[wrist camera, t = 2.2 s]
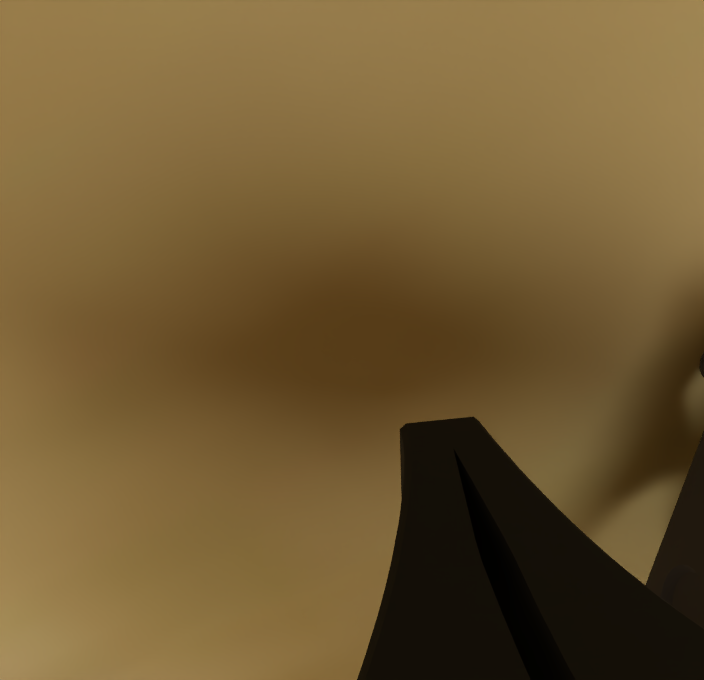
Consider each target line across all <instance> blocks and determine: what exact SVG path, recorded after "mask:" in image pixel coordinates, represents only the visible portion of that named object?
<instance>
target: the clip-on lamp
mask: <svg viewBox="0 0 704 680" xmlns="http://www.w3.org/2000/svg"><path fill="white" fill-rule="evenodd" d="M700 371H701V375H702V376H703V377H704V353H703V355H702V357H701V360H700ZM645 586H646V587H648V588H649V589H650V590H651V591H653V592H654V593H655V594H657V595H658V596H659V597H661V598H662V599H663V600H665V601H666V602H667V603H669V604H670V605H671V606H673V607H674V608H675V609H676V610H678V611H679V612H680V613H682V614H683V615H685V616H686V617H688V618H689V619H691V620H692V621H693V622H695V623H696V624H698V625H699V626H701V627H702V628H704V432H703V435H702V437H701V440H700V443H699V445H698V448H697V450H696V453H695V456H694V458H693V461H692V464H691V466H690V469H689V472H688V474H687V477H686V480H685V482H684V485H683V487H682V490H681V493H680V495H679V498H678V501H677V503H676V506H675V509H674V511H673V514H672V517H671V519H670V522H669V524H668V527H667V530H666V532H665V535H664V538H663V540H662V543H661V546H660V548H659V551H658V554H657V556H656V559H655V561H654V564H653V567H652V569H651V572H650V575H649V577H648V580H647V583H646V585H645Z"/></svg>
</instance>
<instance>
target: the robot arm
mask: <svg viewBox="0 0 704 680" xmlns="http://www.w3.org/2000/svg"><path fill="white" fill-rule="evenodd" d="M400 454H401V491H402V502H401V511H400V518H399V525H398V530H397V535H396V540H395V546H394V551H393V556H392V561H391V566H390V570H389V574H388V579H387V583H386V587H385V591H384V594H383V598H382V602H381V606H380V609H379V613H378V616H377V620H376V623H375V626H374V629H373V633H372V636H371V639H370V642H369V646H368V649H367V652H366V655H365V658H364V661H363V664H362V667H361V670H360V673H359V676H358V679H357V680H704V628H702V627H701V626H699V625H698V624H696V623H695V622H693V621H692V620H691V619H689V618H688V617H686V616H685V615H683V614H682V613H680V612H679V611H678V610H676V609H675V608H674V607H673V606H671V605H670V604H669V603H667V602H666V601H665V600H663V599H662V598H661V597H659V596H658V595H657V594H655V593H654V592H653V591H651V590H650V589H649V588H648V587H646V586H645V585H644V584H643V583H641V582H640V581H639V580H638V579H636V578H635V577H634V576H633V575H632V574H630V573H629V572H628V571H627V570H625V569H624V568H623V567H622V566H620V565H619V564H618V563H617V562H616V561H615V560H613V559H612V558H611V557H610V556H609V555H608V554H606V553H605V552H604V551H603V550H602V549H601V548H600V547H598V546H597V545H596V544H595V543H594V542H593V541H592V540H591V539H590V538H589V537H587V536H586V535H585V534H584V533H583V532H582V531H581V530H580V529H579V528H578V527H577V526H576V525H574V524H573V523H572V522H571V521H570V520H569V519H568V518H567V517H566V516H565V515H564V514H563V513H562V512H561V511H560V510H559V509H558V508H557V507H556V506H555V505H554V504H553V503H552V502H551V501H550V500H549V499H548V498H547V497H546V496H545V495H544V494H543V493H542V492H541V491H540V490H539V489H538V488H537V487H536V486H535V485H534V484H533V483H532V481H531V480H530V479H529V478H528V477H527V476H526V475H525V474H524V473H523V472H522V471H521V470H520V469H519V467H518V466H517V465H516V464H515V463H514V462H513V461H512V460H511V458H510V457H509V456H508V455H507V454H506V453H505V452H504V451H503V449H502V448H501V447H500V446H499V445H498V444H497V442H496V441H495V440H494V439H493V438H492V436H491V435H490V434H489V433H488V432H487V430H486V429H485V428H484V427H483V426H482V424H481V423H480V422H479V421H478V420H477V419H476V418H474V417H466V418H456V419H447V420H437V421H427V422H417V423H407V424H405V425H404V426H403V427H402V428H401V429H400Z"/></svg>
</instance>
